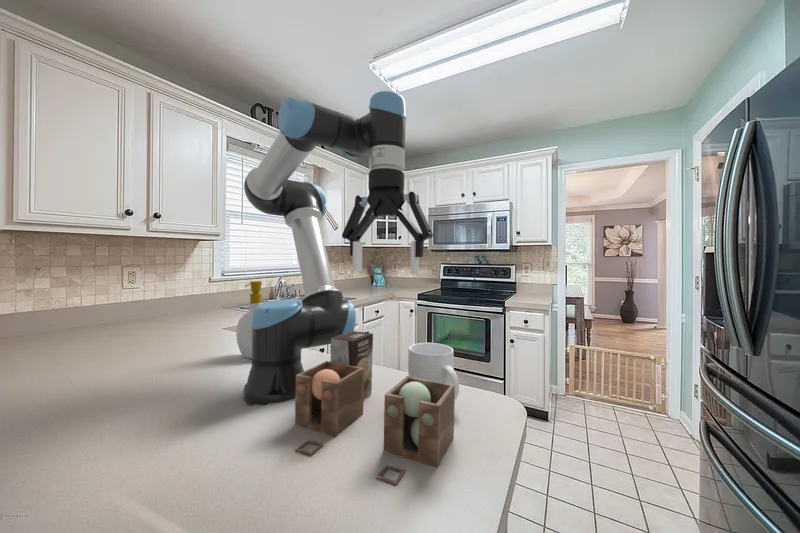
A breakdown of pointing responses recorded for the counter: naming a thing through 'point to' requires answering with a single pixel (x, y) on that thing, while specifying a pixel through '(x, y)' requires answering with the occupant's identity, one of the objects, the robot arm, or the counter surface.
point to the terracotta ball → (317, 381)
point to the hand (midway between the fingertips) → (384, 272)
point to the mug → (433, 363)
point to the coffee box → (355, 354)
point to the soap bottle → (248, 321)
